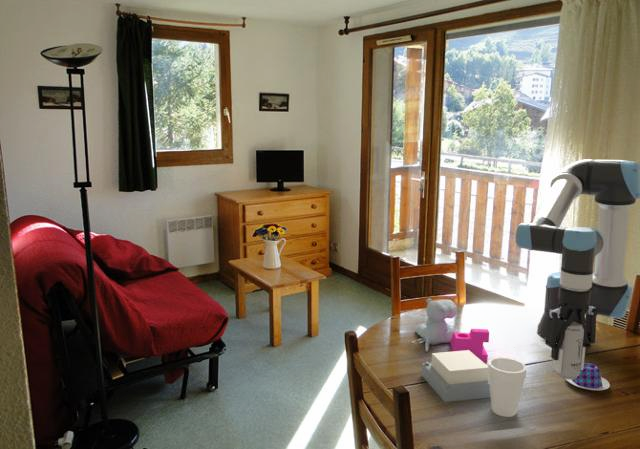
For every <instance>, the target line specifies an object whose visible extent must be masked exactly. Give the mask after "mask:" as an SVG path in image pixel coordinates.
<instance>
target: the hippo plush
mask: <svg viewBox="0 0 640 449" xmlns="http://www.w3.org/2000/svg"><path fill="white" fill-rule="evenodd" d="M425 301H426V304H427V305H426V308H425V309H426V310H425V311H426V316H427V319H426V323H424V322H423V323H419V324H417V326H416V327H415V333H416V334H417V335H418V336H419V335H420V336H419V337H420V338H418V339H416V340H411V343H414V342H415V343H416V342H417V343H420V344H423V343H425V345H424V346H425V352H427V353H428V352H429V348H430V345H433V346H435V345H439V344H448V343H449V344H450V342H451V339H452V336H453V333H454V332H457V333H461V332H460V331H459V330H458V329H457V328H456V327H453V326H452V325H450V324H449V323H447V322H446V319H453V318H454V317H456V316H457V306H456V304H455V303H454V301H452V300H451V299H439V300H432V299H431V298H430V297H429V298H427V299H426V300H425ZM415 343H414V344H415Z"/></svg>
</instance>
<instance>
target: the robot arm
mask: <svg viewBox="0 0 640 449" xmlns="http://www.w3.org/2000/svg"><path fill="white" fill-rule="evenodd" d="M581 195H587V196H588V195H589V196H594V203H595V204H597V206H598V208H599V209H598V219H597V229H596V228H594V227H590V226H589V227H585V226H584V227H582V226H572V227H571V226H569V227H565V226H564V227H563V226H561V224H562V223H563V221H564V218H565V217H566V216H567V213H568V211H569V209H570V207H571V205H572V204H573V202H574V200H575V199H577V198H578V197H580V196H581ZM639 199H640V163H638V162H637V161H636V160H634V161H633V160H632V161H631V160H625V159H591V158H590V159H589V158H587V159H581V160H577V161H574V162H572V163H570V164H568V165H566V166H565V167H563V168H562V169H560V170H559V171H558V172H557V173H555V175H554V177H553V178H552V180H551V182H550V189H549V192H548V193H547V194H546V197H545V198H544V200H543V202H542V204H540V207H539V208H538V210H537V212H536V214H535V215H534V216H533V218H532V220H531V222H521V223H519V224H518V226H517V227H516V230H515V237H514V238H515V245H516V246H517V247H518V248H520V249H525V250H529V251H538V252H544V253H553V254H560V255H561V264H560V271H558V272H553V273H551V274H549V275H548V276H547V279H546V280H547V281H546V284H545V297H544V309H543V313H542V316H541V318H540V321H539V323H538V324H537V329H536V330H537V331H536V332H537V334H539V336H540V337H541V338H545V341H544V344H546V346H548V347H549V348H551V355H550V357H551V359H552V364H551V365H552V366H551V369H552V370H554V371H555V372H556V371H557V372H558V373H561V368H562V357H563V349H561V345H562V343H563V340H564V337H565V331H566V329H567V327H568V326H570V325H571V323H572V322H574V321H576V322H578V323H580V324H582V327H583V329H584V337H583V347H582V357H581V368H580V370H583V368H584V363H585V358H586V357H587V354H588V348H589V349H590V348H591V347H592V345H593V344H595V343H596V332H597V331H596V330H597V329H596V327H597V316H599V317H600V316H601V317H607V318H608V319H609V318H612V319H623V318H624V317H625V316H626V313H627V310H628V308H629V304H630V300H631V297H632V295H633V293H632V292H633V286H631V285H629V284H628V283H629V279H628V278H627V277H626V276H624V271H625V259H626V249H627V239H628V237H627V236H628V228H629V216H630V208H632V207H633V206H634V205H635V204H636V201H637V200H639ZM565 320H566V321H565ZM591 344H592V345H591ZM557 372H556V373H557Z"/></svg>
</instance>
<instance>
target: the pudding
mask: <svg viewBox="0 0 640 449" xmlns="http://www.w3.org/2000/svg"><path fill="white" fill-rule="evenodd" d="M565 380H566V381H567V382H568V383H570V384H571V385H573V386H575V387H577V388H581V389H585V390H590V391H604V390H608V389H609V388H610V387H611V384H610V382H609V381H608V380H607V379H606V378H605V377H602V375H601V370H600V368H599V367H598V366H597V365H595V364H593V363H587V362H584V368H583V370H580V375H579V376H577V378H576V379H565Z"/></svg>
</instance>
